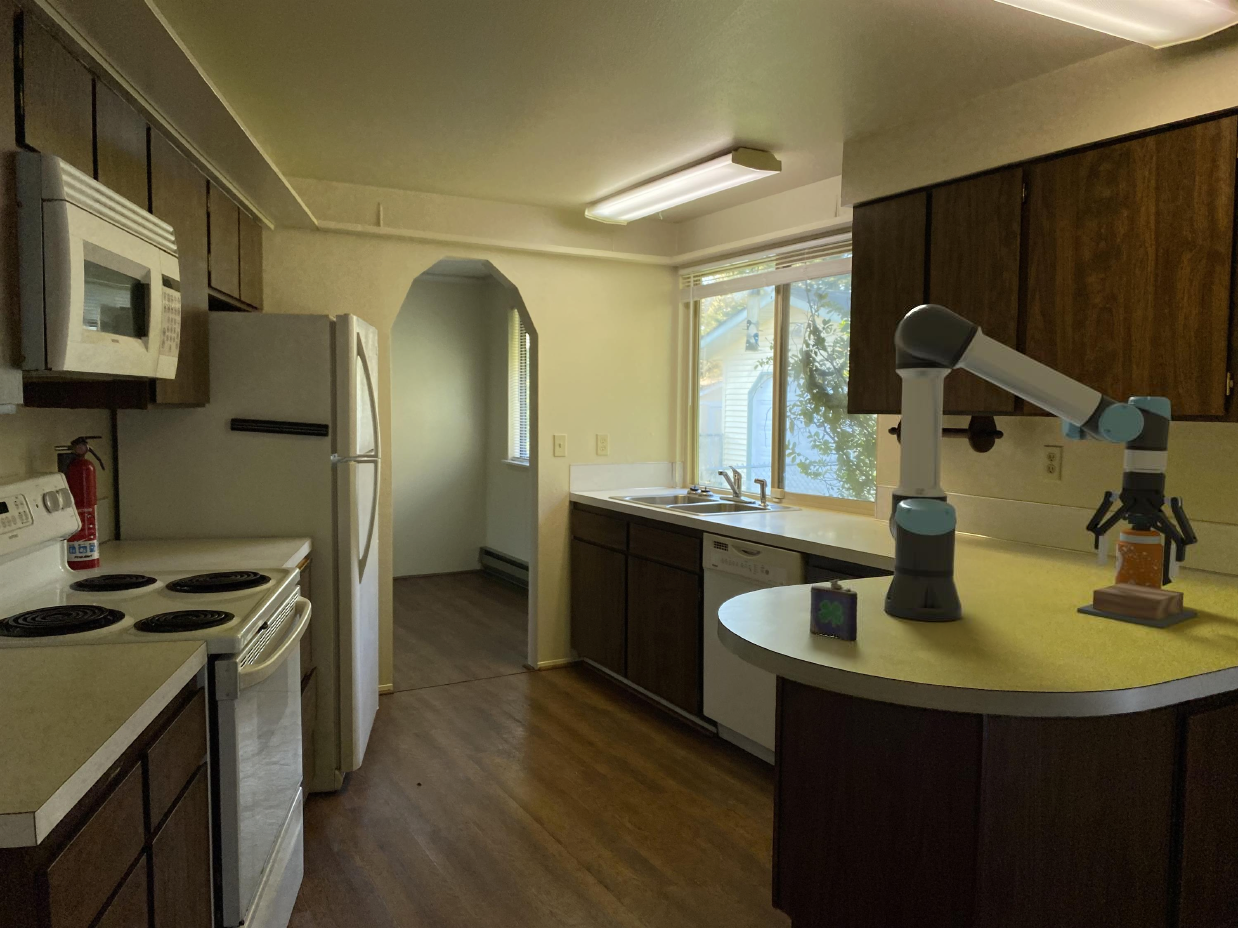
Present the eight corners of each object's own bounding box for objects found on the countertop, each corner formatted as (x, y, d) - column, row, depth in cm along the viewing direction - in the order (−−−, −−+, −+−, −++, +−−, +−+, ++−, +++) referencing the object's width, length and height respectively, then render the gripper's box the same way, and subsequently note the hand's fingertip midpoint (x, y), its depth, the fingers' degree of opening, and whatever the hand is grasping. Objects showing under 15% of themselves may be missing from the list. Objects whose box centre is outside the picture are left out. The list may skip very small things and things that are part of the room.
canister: (1113, 593, 190) (1117, 509, 189) (1170, 599, 185) (1174, 512, 183) (1114, 600, 183) (1118, 512, 181) (1173, 606, 177) (1178, 516, 176)
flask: (807, 632, 152) (809, 576, 152) (814, 629, 154) (816, 574, 154) (852, 642, 146) (854, 584, 145) (860, 639, 148) (862, 582, 147)
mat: (1162, 628, 158) (1162, 624, 158) (1077, 611, 171) (1077, 608, 171) (1197, 615, 169) (1197, 611, 169) (1114, 601, 182) (1114, 597, 182)
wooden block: (1155, 620, 161) (1156, 601, 161) (1092, 608, 171) (1093, 590, 170) (1182, 611, 169) (1183, 592, 169) (1121, 600, 179) (1122, 582, 179)
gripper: (1221, 475, 161) (1213, 580, 162) (1089, 466, 181) (1082, 559, 182) (1207, 476, 156) (1198, 584, 158) (1073, 466, 176) (1066, 562, 178)
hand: (1136, 571), depth 170 cm, fingers open, 13 cm apart
